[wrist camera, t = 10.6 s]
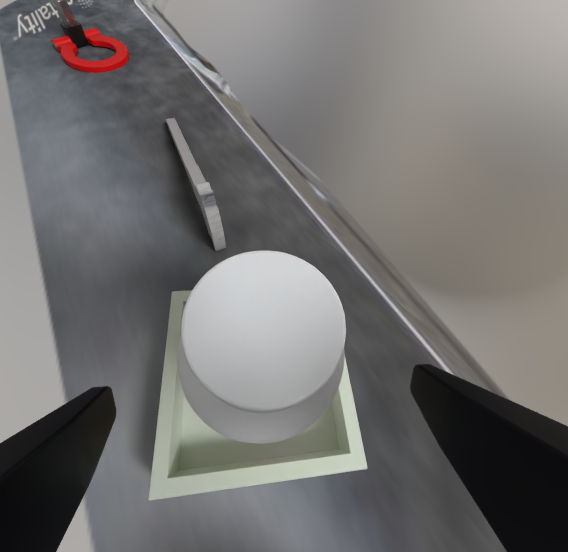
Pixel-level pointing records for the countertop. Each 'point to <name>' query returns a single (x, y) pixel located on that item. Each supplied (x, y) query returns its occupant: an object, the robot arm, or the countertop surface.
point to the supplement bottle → (261, 346)
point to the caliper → (199, 187)
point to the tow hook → (85, 43)
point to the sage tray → (240, 455)
